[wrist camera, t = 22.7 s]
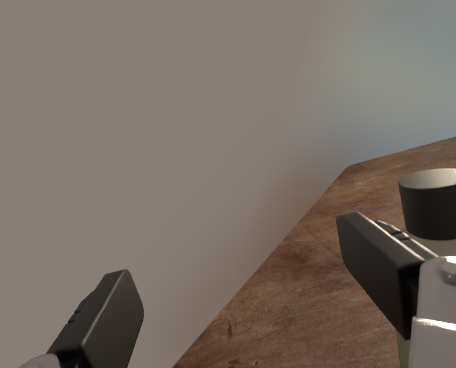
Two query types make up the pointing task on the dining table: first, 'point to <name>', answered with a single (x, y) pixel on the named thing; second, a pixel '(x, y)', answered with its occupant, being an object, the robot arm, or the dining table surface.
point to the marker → (431, 209)
